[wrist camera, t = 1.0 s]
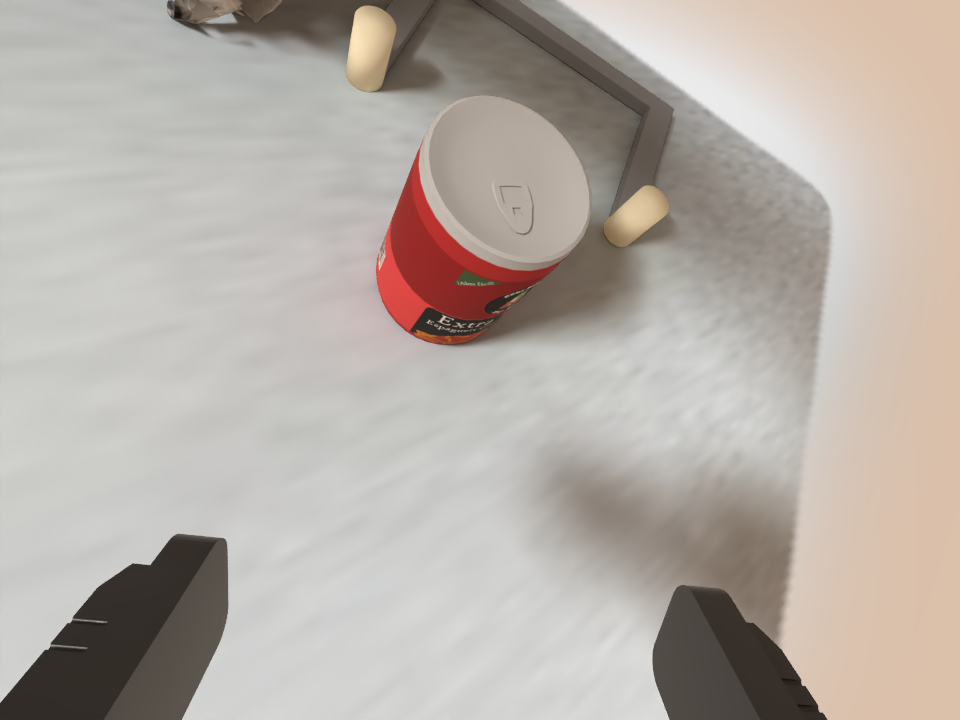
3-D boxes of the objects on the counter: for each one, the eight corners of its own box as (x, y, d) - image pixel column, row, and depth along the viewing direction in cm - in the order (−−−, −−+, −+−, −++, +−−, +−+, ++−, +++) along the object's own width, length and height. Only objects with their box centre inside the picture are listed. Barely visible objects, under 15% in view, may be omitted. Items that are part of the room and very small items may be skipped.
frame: (338, 77, 33) (347, 22, 29) (428, -46, 39) (444, -104, 35) (627, 253, 37) (664, 224, 34) (667, 118, 43) (703, 82, 40)
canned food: (411, 369, 29) (482, 288, 19) (348, 245, 30) (386, 108, 20) (518, 322, 32) (625, 233, 23) (459, 212, 33) (538, 81, 23)
